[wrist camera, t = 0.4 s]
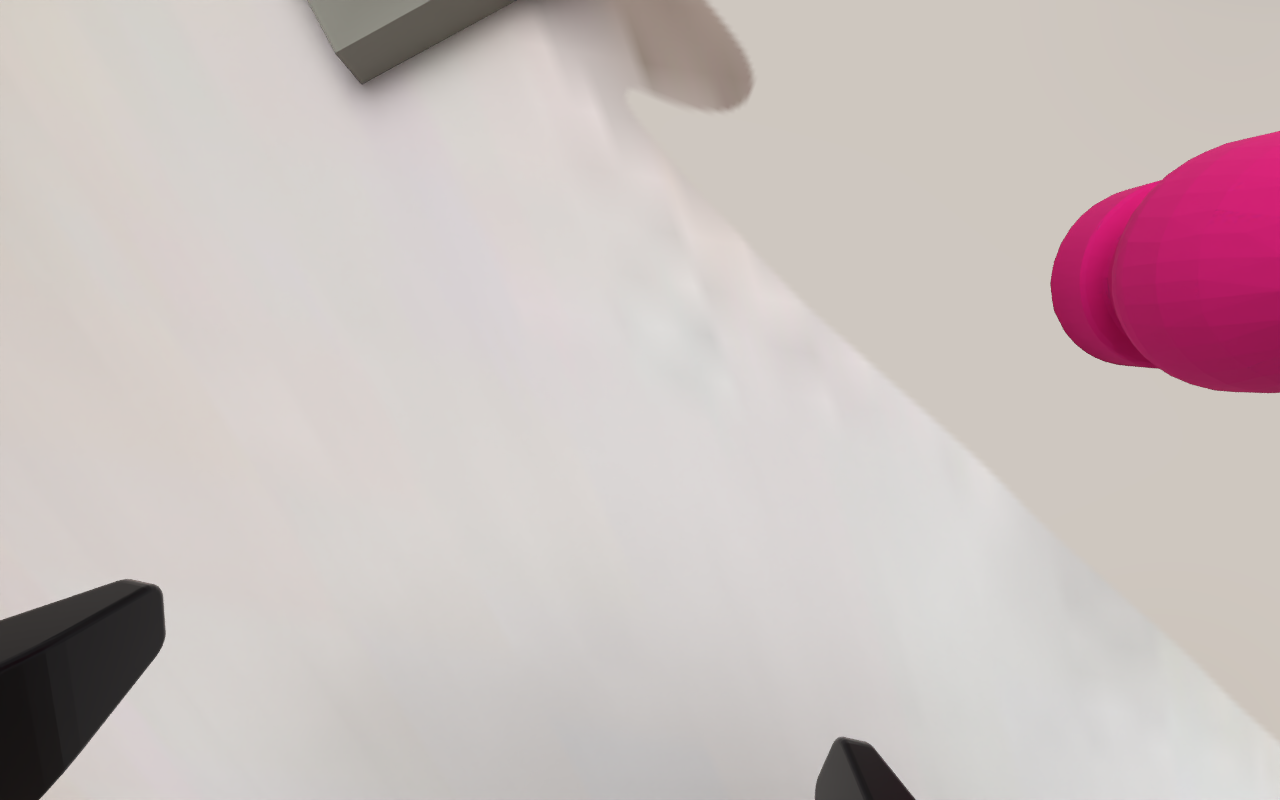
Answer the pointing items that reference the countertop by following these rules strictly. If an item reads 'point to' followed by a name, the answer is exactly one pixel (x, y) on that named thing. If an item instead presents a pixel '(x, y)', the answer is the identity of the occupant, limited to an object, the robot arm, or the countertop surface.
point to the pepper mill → (1183, 272)
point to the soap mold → (393, 28)
